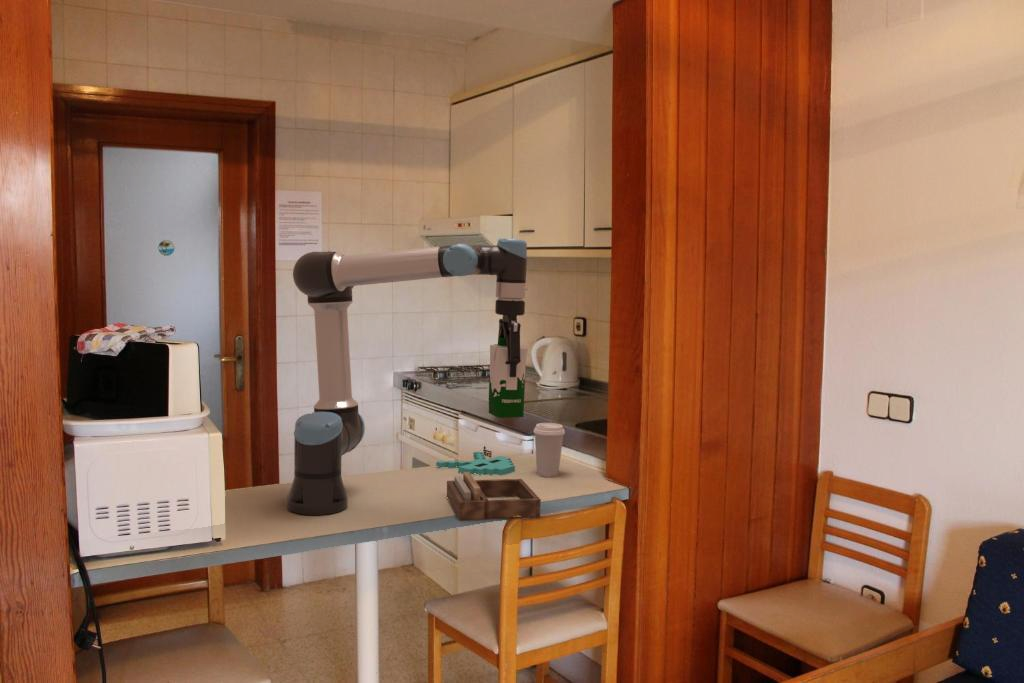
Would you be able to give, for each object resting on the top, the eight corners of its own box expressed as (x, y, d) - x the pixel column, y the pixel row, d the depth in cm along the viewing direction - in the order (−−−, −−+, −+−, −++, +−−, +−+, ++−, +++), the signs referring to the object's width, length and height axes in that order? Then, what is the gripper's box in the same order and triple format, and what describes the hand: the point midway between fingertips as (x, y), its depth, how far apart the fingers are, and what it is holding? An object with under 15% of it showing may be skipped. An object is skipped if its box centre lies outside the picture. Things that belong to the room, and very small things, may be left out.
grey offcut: (464, 518, 218) (465, 492, 218) (453, 499, 234) (454, 476, 233) (470, 517, 219) (471, 492, 218) (459, 499, 234) (460, 475, 233)
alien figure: (436, 468, 267) (487, 481, 255) (436, 461, 267) (487, 473, 255) (477, 458, 283) (527, 468, 271) (478, 451, 283) (527, 461, 271)
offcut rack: (459, 520, 216) (459, 502, 215) (446, 497, 235) (447, 480, 235) (540, 517, 220) (540, 499, 220) (520, 494, 240) (521, 478, 240)
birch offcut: (473, 517, 219) (474, 488, 218) (462, 499, 234) (463, 472, 233) (479, 517, 219) (480, 488, 218) (468, 499, 235) (468, 471, 234)
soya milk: (515, 411, 232) (518, 336, 230) (528, 417, 224) (531, 340, 222) (484, 412, 229) (486, 336, 227) (496, 419, 220) (499, 340, 218)
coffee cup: (526, 471, 266) (528, 423, 264) (555, 469, 270) (556, 421, 268) (539, 479, 257) (541, 429, 256) (568, 477, 261) (570, 427, 259)
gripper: (535, 302, 213) (531, 393, 216) (514, 297, 235) (511, 380, 237) (505, 301, 212) (501, 393, 214) (487, 296, 233) (484, 380, 235)
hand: (507, 386), depth 225 cm, fingers closed on soya milk, 9 cm apart
